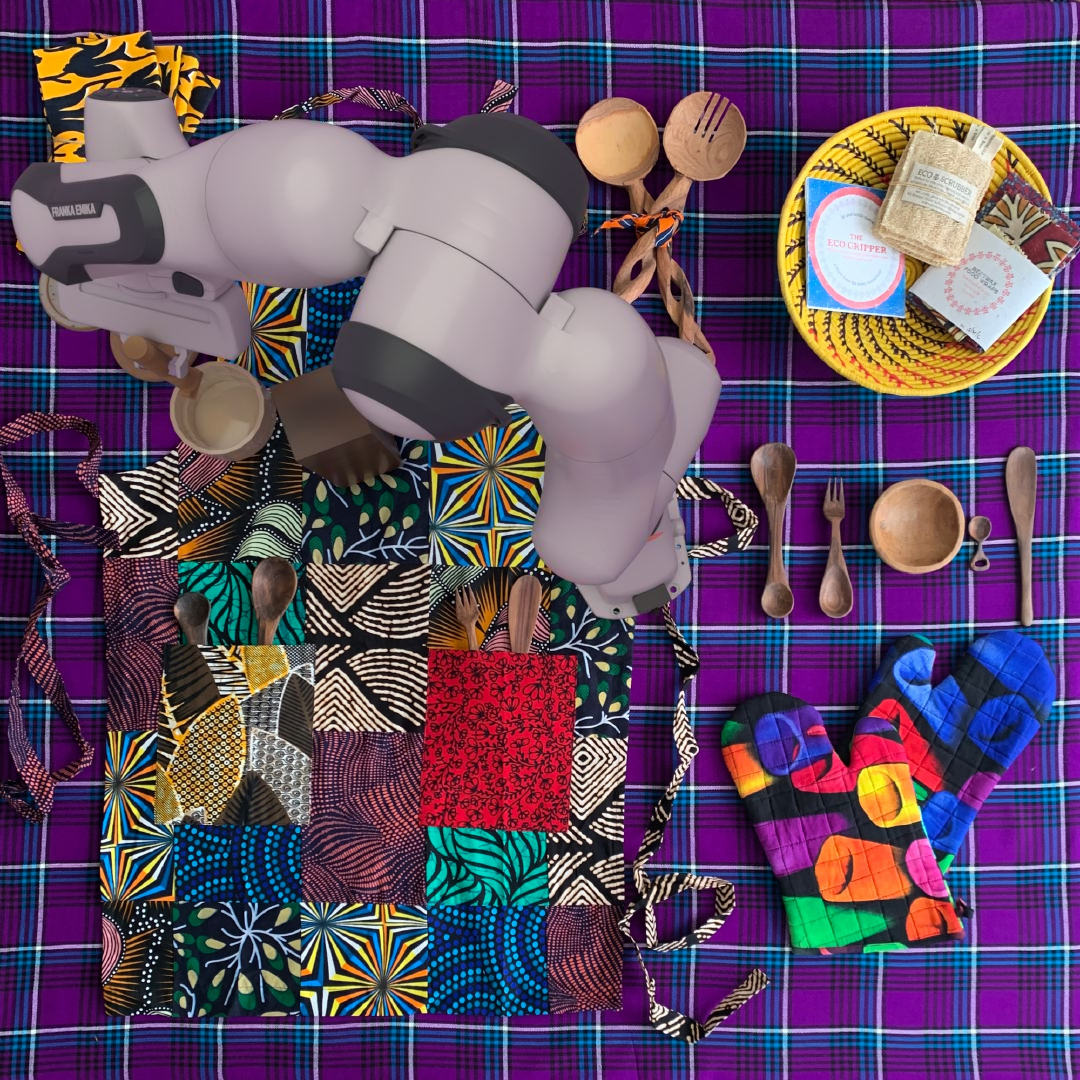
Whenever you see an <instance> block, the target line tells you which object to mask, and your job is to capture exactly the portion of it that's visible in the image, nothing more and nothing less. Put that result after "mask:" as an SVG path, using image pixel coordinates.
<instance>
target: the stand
mask: <svg viewBox="0 0 1080 1080" xmlns="http://www.w3.org/2000/svg"><path fill="white" fill-rule="evenodd" d="M330 369H331V363H329V364H327V365H324V366H321V367H318V368H316V369H313V370H310V371H308V372H305V373H303V374H299V375H297V376H294V377H291V378H289V379H287V380H283V381H281V382H279V383H275V384H273V385H270V386H268V390H269V392H270V393H271V395H272V397H273V400H274V403H275V406H276V412H277V413H278V414H277V415H278V416H279V419H280V422H281V424H282V427H283V430H284V433H285V436H286V439H287V441H288V444H289V447H290V450H291V452H292V455H293V458H294V460H295V462H296V463H298V464H300V465H301V466H302V467H304V468H306V469H308V470H309V471H311V472H313V473H315V474H316V475H318V476H320V477H321V478H323V479H324V480H325V481H328V482H330V483H331V484H333V485H334V486H336V487H338V488H339V489H341V490H344V489H346V488H348V487H353V486H355V485H357V484H359V483H362V482H365V481H368V480H371V479H373V478H375V477H378V476H381V475H383V474H386V473H389V472H391V471H395V470H397V469H399V468H402V467H404V466H405V463H404V460H403V458H402V454H401V451H400V449H399V447H398V444H397V441H396V438H395V435H394V434H392V433H389V432H387V431H385V430H383V429H381V428H379V427H378V426H376V425H375V424H373V423H372V422H370V421H369V420H368V419H366V418H365V417H364V416H363V415H362V414H361V413H360V412H359V411H358V410H357V409H356V408H355V407H354V405H353V404H352V403H351V402H350V400H349V399H348V397H347V396H346V395H345V394H343V393H342V392H341V391H340V390H339V389H338V387H337V385H336V383H335V380H334V378H333V376H332V373H331V371H330Z"/></svg>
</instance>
